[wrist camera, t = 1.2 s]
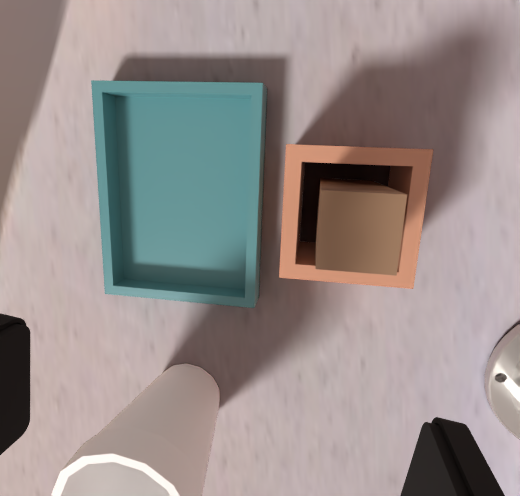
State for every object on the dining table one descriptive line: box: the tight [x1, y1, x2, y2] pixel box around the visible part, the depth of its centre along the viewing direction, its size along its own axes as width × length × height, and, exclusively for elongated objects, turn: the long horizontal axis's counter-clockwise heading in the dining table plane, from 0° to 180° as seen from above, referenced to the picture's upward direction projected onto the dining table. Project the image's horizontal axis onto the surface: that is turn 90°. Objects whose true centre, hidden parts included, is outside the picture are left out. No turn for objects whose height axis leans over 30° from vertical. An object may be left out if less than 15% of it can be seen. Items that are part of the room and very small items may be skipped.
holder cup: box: [279, 144, 433, 289], centre depth 27 cm, size 8×8×7 cm
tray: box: [91, 81, 267, 308], centre depth 30 cm, size 13×17×2 cm
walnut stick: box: [315, 178, 407, 276], centre depth 24 cm, size 4×4×12 cm
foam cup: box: [52, 363, 220, 496], centre depth 30 cm, size 10×9×13 cm
